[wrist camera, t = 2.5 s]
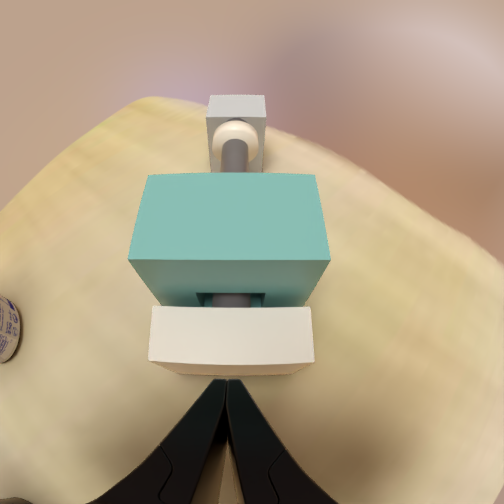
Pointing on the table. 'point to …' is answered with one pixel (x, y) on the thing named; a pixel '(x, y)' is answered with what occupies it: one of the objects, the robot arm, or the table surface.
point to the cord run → (232, 304)
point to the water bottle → (14, 501)
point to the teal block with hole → (230, 238)
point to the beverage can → (8, 329)
